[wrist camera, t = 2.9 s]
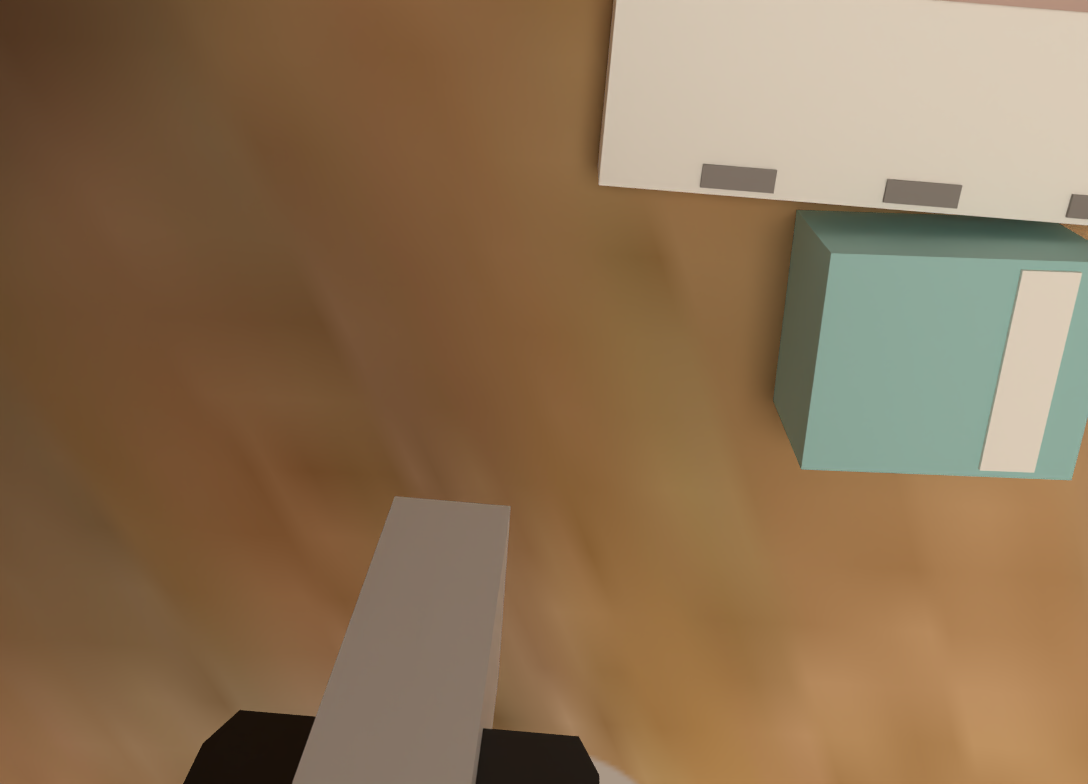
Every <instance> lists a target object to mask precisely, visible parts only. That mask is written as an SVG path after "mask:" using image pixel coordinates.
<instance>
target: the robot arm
mask: <svg viewBox="0 0 1088 784" xmlns="http://www.w3.org/2000/svg"><path fill="white" fill-rule="evenodd" d="M510 508H511V506H503V505H491V504H479V503H468V502H456V501H444V500H433V499H421V498H409V497H398V496H395V497H394V500H393V503H392V505H391V508H390V511H389V514H388V516H387V519H386V522H385V525H384V528H383V530H382V533H381V536H380V539H379V542H378V544H377V547H376V550H375V553H374V556H373V558H372V561H371V564H370V567H369V570H368V572H367V575H366V578H365V581H364V584H363V586H362V589H361V592H360V595H359V598H358V600H357V603H356V606H355V609H354V612H353V614H352V617H351V620H350V623H349V626H348V628H347V631H346V634H345V637H344V640H343V642H342V645H341V648H340V651H339V654H338V656H337V659H336V662H335V665H334V667H333V670H332V673H331V676H330V679H329V681H328V684H327V687H326V690H325V693H324V695H323V698H322V701H321V704H320V707H319V709H318V712H317V715H316V717H313V716H301V715H290V714H278V713H267V712H255V711H244V710H239V711H238V712H237V713H236V714H235V715H234V716H233V717H232V718H231V719H230V720H228V721H227V722H226V723H225V724H224V725H223V726H222V727H221V728H220V729H218V730H217V731H216V732H215V733H214V734H213V735H212V736H211V737H210V738H208V739H207V740H206V741H205V742H204V743H203V744H202V746H201V748H200V750H199V752H198V754H197V757H196V759H195V761H194V763H193V765H192V767H191V769H190V771H189V773H188V775H187V777H186V779H185V781H184V783H183V784H599V774H598V772H597V770H596V768H595V766H594V764H593V762H592V761H591V759H590V757H589V755H588V753H587V751H586V749H585V747H584V746H583V744H582V742H581V740H580V738H579V737H578V736H566V735H555V734H543V733H532V732H520V731H509V730H498V729H492V725H493V717H494V709H495V701H496V693H497V685H498V676H499V662H500V648H501V634H502V620H503V606H504V592H505V578H506V564H507V550H508V536H509V522H510Z"/></svg>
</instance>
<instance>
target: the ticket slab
mask: <svg viewBox="0 0 1088 784" xmlns="http://www.w3.org/2000/svg"><path fill="white" fill-rule="evenodd" d="M598 181H599V185H604V186H616V187H628V188H640V189H652V190H665V191H677V192H689V193H701V194H713V195H725V196H737V197H749V198H762V199H774V200H786V201H798V202H810V203H822V204H834V205H846V206H859V207H871V208H883V209H895V210H907V211H919V212H931V213H944V214H956V215H968V216H980V217H992V218H1004V219H1016V220H1028V221H1041V222H1053V223H1065V224H1077V225H1088V0H614V1H613V11H612V22H611V32H610V43H609V53H608V64H607V74H606V85H605V95H604V106H603V116H602V127H601V137H600V148H599V158H598Z"/></svg>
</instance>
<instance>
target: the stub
mask: <svg viewBox="0 0 1088 784" xmlns="http://www.w3.org/2000/svg"><path fill="white" fill-rule="evenodd" d="M773 402H774V404H775V407H776V409H777V412H778V414H779V416H780V419H781V421H782V424H783V426H784V429H785V431H786V434H787V436H788V438H789V441H790V443H791V446H792V448H793V451H794V453H795V456H796V458H797V460H798V463H799V465H800V468H801V469H805V470H830V471H855V472H880V473H904V474H929V475H954V476H979V477H1004V478H1029V479H1054V480H1072V476H1073V472H1074V468H1075V464H1076V460H1077V457H1078V453H1079V449H1080V445H1081V441H1082V437H1083V433H1084V429H1085V425H1086V422H1087V418H1088V240H1086V239H1084V238H1083V237H1081V236H1079V235H1077V234H1076V233H1074V232H1072V231H1071V230H1069V229H1067V228H1065V227H1064V226H1062V225H1060V224H1059V223H1053V222H1041V221H1028V220H1016V219H1004V218H992V217H980V216H967V215H937V214H906V213H876V212H846V211H815V210H797V211H796V219H795V227H794V235H793V243H792V251H791V260H790V268H789V276H788V284H787V292H786V300H785V308H784V316H783V324H782V332H781V340H780V348H779V356H778V365H777V373H776V381H775V389H774V397H773Z"/></svg>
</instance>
